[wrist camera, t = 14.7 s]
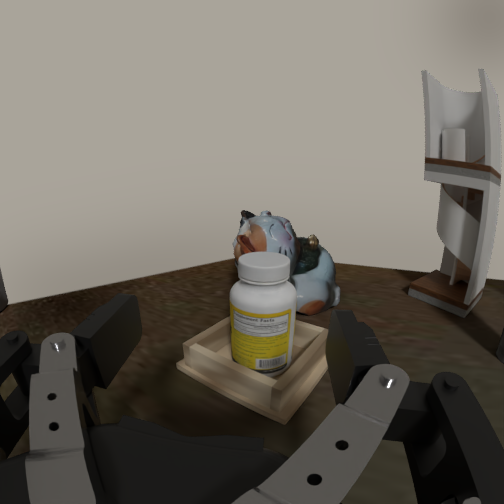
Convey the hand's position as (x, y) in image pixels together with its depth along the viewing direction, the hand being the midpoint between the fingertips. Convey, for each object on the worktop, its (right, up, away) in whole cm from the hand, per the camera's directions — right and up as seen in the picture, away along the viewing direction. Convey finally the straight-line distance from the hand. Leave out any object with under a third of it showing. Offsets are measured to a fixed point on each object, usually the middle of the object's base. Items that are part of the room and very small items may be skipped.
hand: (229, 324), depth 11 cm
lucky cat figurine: (+6, -4, +28) cm, 29 cm away
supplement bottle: (+2, -7, +14) cm, 15 cm away
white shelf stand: (+33, -5, +27) cm, 43 cm away
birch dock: (+2, -8, +14) cm, 16 cm away
